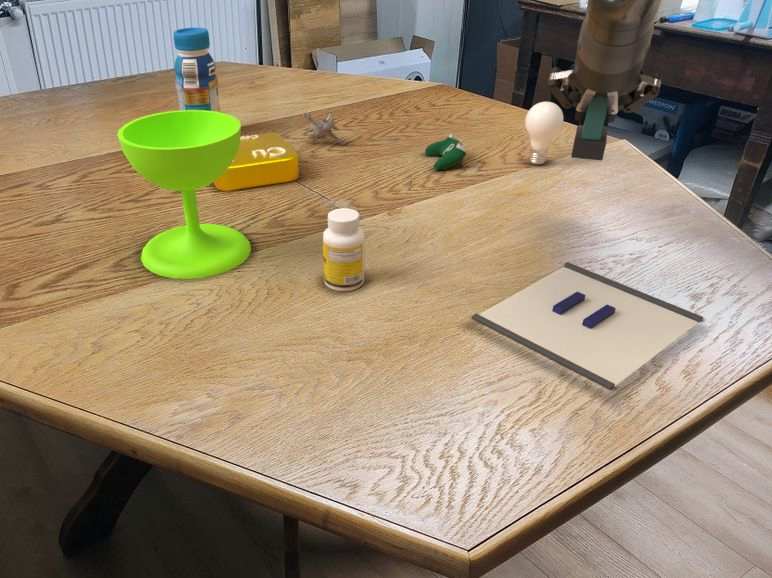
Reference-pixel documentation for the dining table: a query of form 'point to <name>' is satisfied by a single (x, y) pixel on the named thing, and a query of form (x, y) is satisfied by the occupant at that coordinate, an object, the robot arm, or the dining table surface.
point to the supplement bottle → (344, 251)
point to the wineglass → (187, 187)
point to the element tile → (260, 163)
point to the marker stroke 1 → (568, 303)
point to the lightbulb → (542, 128)
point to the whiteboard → (579, 343)
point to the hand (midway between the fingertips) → (594, 118)
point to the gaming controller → (446, 152)
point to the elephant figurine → (323, 128)
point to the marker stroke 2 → (598, 316)
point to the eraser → (592, 132)
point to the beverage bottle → (195, 71)
